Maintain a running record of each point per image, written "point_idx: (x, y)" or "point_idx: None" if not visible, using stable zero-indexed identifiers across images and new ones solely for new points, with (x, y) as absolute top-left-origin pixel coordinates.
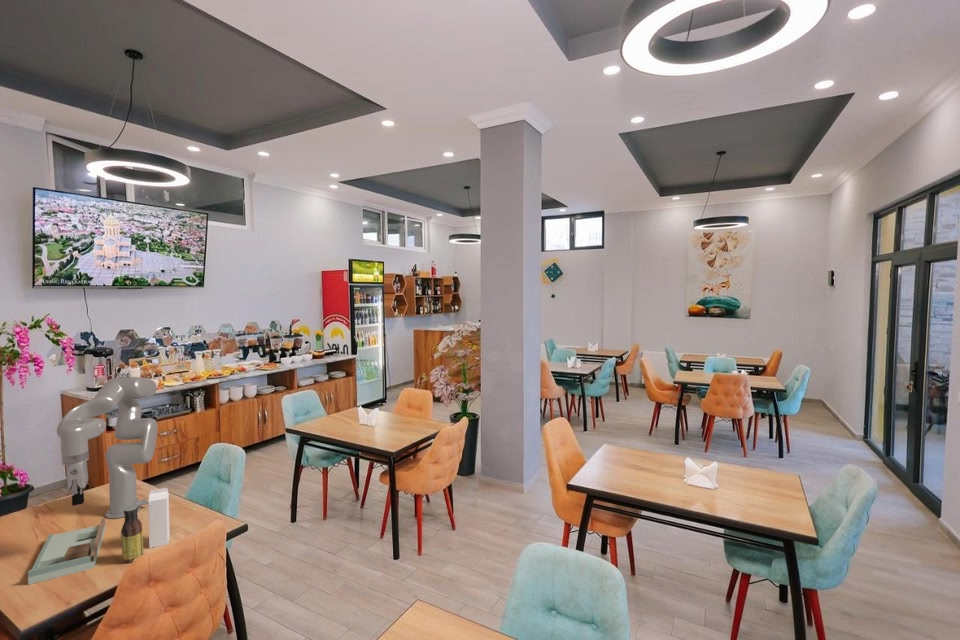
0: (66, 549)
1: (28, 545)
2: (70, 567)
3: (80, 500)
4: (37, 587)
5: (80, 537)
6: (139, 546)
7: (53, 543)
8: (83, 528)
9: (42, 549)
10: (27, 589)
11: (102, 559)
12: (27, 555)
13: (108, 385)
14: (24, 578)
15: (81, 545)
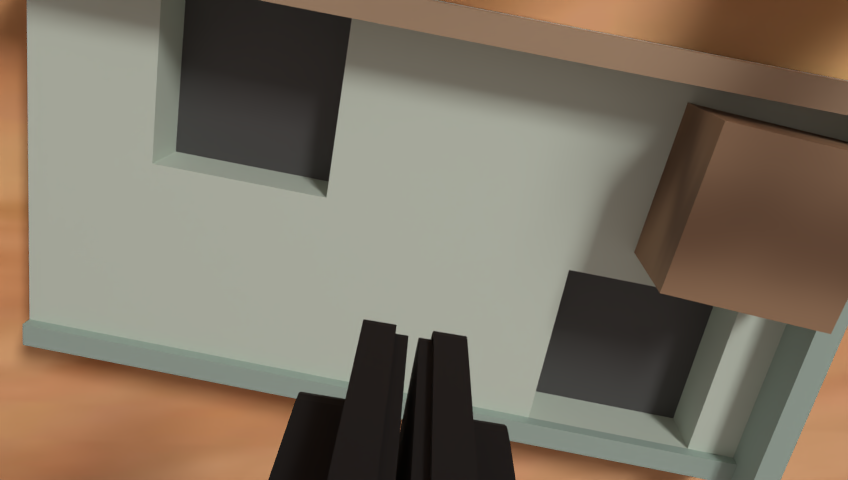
0: (432, 257)
1: (40, 420)
2: None
3: (485, 438)
4: (824, 409)
5: (167, 135)
6: None
7: (223, 325)
8: (30, 110)
9: None
10: (795, 451)
11: (756, 13)
12: (221, 431)
13: None
14: None
15: (727, 199)
